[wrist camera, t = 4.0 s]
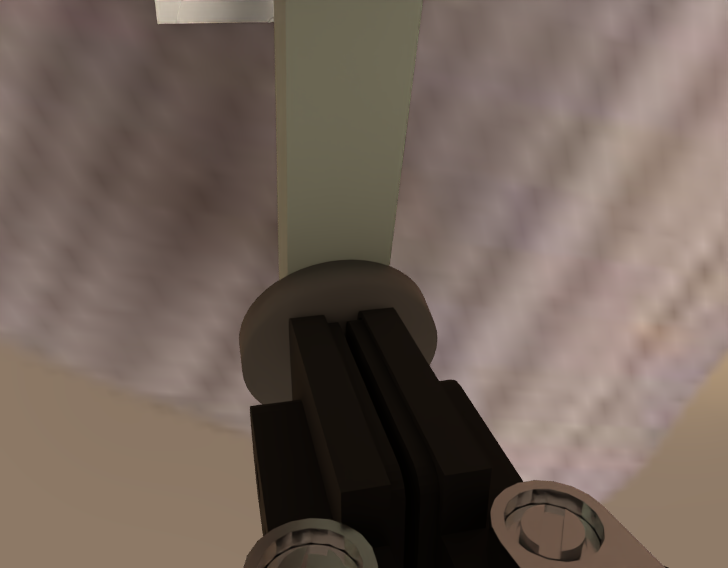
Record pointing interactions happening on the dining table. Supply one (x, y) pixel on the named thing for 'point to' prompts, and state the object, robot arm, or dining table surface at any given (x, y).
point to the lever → (336, 177)
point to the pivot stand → (214, 11)
